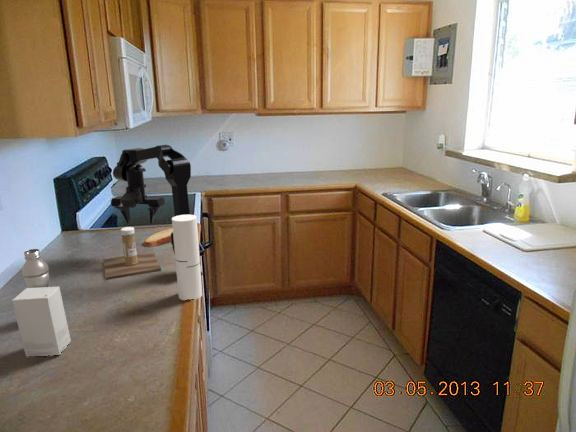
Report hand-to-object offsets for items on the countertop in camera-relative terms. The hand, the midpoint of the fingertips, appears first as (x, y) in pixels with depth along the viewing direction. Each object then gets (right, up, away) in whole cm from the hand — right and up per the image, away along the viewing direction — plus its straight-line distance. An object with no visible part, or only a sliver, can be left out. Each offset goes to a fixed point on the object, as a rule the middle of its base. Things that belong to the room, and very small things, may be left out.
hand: (140, 223), depth 160 cm
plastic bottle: (-12, -26, -42) cm, 51 cm away
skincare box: (-3, -30, -57) cm, 64 cm away
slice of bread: (+4, -8, +23) cm, 24 cm away
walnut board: (-1, -15, -6) cm, 16 cm away
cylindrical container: (+26, -22, -29) cm, 44 cm away
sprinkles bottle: (-1, -15, -6) cm, 16 cm away
